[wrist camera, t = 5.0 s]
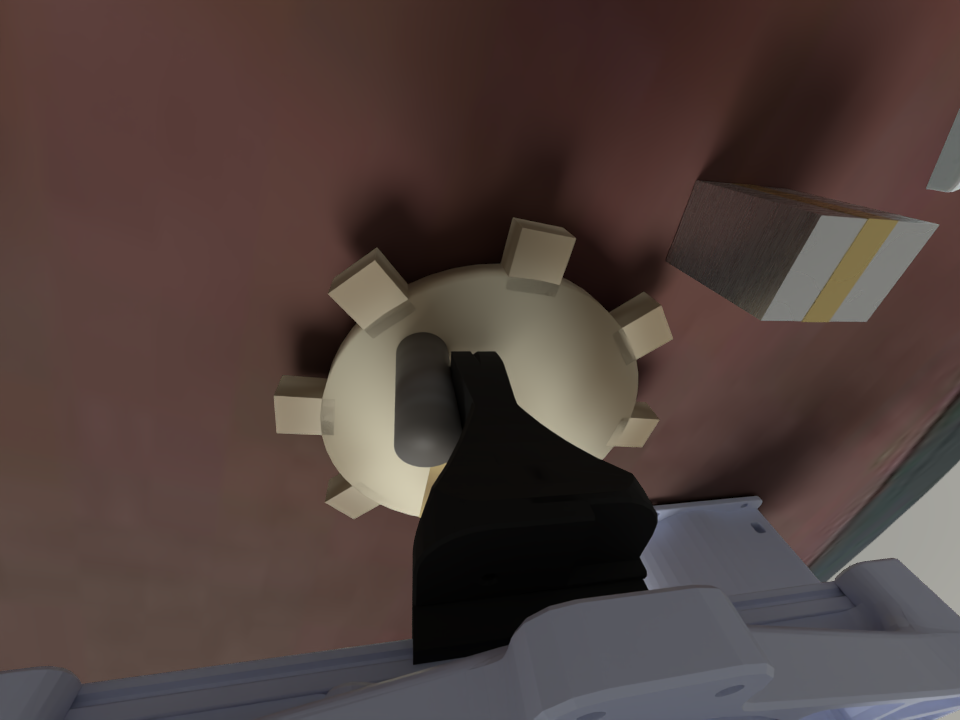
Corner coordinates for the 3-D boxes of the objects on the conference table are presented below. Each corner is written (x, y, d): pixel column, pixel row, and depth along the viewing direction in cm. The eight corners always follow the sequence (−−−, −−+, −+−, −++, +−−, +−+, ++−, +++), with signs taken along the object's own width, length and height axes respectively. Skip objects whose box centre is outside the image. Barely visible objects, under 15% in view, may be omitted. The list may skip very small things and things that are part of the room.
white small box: (788, 188, 14) (940, 224, 10) (748, 265, 16) (866, 322, 12) (696, 179, 14) (822, 214, 10) (665, 261, 15) (761, 321, 11)
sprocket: (573, 104, 11) (692, 109, 6) (691, 419, 20) (775, 512, 15) (183, 387, 14) (80, 523, 9) (439, 550, 23) (449, 658, 18)
